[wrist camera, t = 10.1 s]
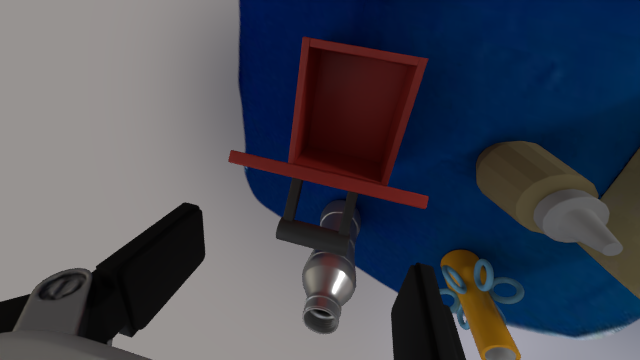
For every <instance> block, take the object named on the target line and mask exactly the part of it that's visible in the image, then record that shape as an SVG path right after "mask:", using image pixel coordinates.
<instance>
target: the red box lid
mask: <svg viewBox="0 0 640 360" xmlns="http://www.w3.org/2000/svg"><path fill="white" fill-rule="evenodd" d="M229 162H231V163H235V164H239V165H243V166H247V167H251V168H256V169H260V170H264V171H268V172H272V173H276V174H281V175H285V176H289V177H293V178H292V182H291V186H290V191H289V195H288V199H287V203H286V208H285V212H284V216H283V217H282V218H281V220H280V221H279V224H278V227H277V231H276V238H277V239H280V240H283V241H287V242H291V243H295V244H298V245H302V246H306V247H309V248H313V249H317V250H321V251H324V252H328V253H332V254H335V255H339V256H343V257H345V256H346V254H347V250H348V246H349V241H350V234H349V230H350V226H351V222H352V218H353V214H354V209H355V205H356V201H357V197H358V193H360V194H364V195H368V196H372V197H376V198H380V199H385V200H389V201H393V202H397V203H401V204H405V205H410V206H414V207H418V208H422V209H426V206H427V202H428V198H429V197H428V196H426V195H421V194H417V193H413V192H409V191H404V190H400V189H396V188H391V187H387V186H383V185H379V184H374V183H370V182H366V181H362V180H357V179H353V178H349V177H345V176H340V175H336V174H332V173H328V172H323V171H319V170H315V169H311V168H306V167H302V166H298V165H293V164H289V163H285V162H281V161H276V160H272V159H268V158H264V157H259V156H255V155H251V154H247V153H242V152H238V151H234V150H231V152H230V156H229ZM303 180H305V181H310V182H314V183H318V184H322V185H326V186H330V187H335V188H339V189H343V190H347V191H348V194H347V198H346V202H345V206H344V211H343V215H342V219H341V223H340V227H339V231H336V230H332V229H328V228H325V227H321V226H317V225H313V224H309V223H305V222H301V221H298V220H294V218H295V214H296V210H297V206H298V201H299V197H300V193H301V189H302V184H303Z"/></svg>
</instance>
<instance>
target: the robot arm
mask: <svg viewBox="0 0 640 360" xmlns="http://www.w3.org/2000/svg"><path fill="white" fill-rule="evenodd" d="M204 257H205V244H204V230H203V216H202V211H201V210H200V209H199V206H197V205H194V204H190V203H183V204H181V205H180V206H179V207H177V208H176V209H174V210H173V211H172V212H170V213H169V214H167V215H166V216H165V217H163V218H162V219H161V220H159V221H158V222H156V223H155V224H154V225H152V226H151V227H149V228H148V229H147V230H145V231H144V232H143V233H141V234H140V235H138V236H137V237H136V238H134V239H133V240H132V241H130V242H129V243H128V244H126V245H125V246H123V247H122V248H121V249H119V250H118V251H116V252H115V253H114V254H112V255H111V256H110V257H108V258H107V259H105V260H104V261H103V262H101V263H100V264H99V265H97V266H96V270H95V271H93V272H92V273H91V272H90V271H89V270H87V269H82V268H75V269H68V270H65V271H61V272H58V273H56V274H54V275H52V276H50V277H48V278H46V279H45V280H43V281H42V282H41V283H40V284H38V285H37V286H36V287H35V289H34V290H33V291H32V293H31V294H28V295H25V296H21V297H17V298H13V299H9V300H6V301H2V302H0V360H151V359H148V358H145V357H142V356H139V355H136V354H134V353H131V352H128V351H125V350H122V349H118V348H115V347H112V340H113V338H114V337H115V335H116V334H117V333H118V332H119V333H120V334H123V335H126V336H129V337H133V336H134V335H135V333H136V332H137V331H138V330H141V329H143V328H144V327H146V326H147V324H148V323H149V322H150V321H151V320H152V319H153V317H154V316H155V315H156V314H157V313H158V312H159V311H160V310H161V308H162V307H163V306H164V305H165V304H166V303H167V302H168V300H169V299H170V298H171V297H172V296H173V295H174V293H175V292H176V291H177V290H178V289H179V288H180V287H181V286H182V284H183V283H184V282H185V281H186V280H187V279H188V278H189V276H190V275H191V274H192V273H193V272H194V271H195V270H196V268H197V267H198V266H199V265H200V264H201V262H202V261H203V260H204ZM391 321H392V337H393V353H394V360H466V358H465V355H464V351H463V348H462V345H461V342H460V338H459V335H458V332H457V328H456V325H455V322H454V318H453V315H452V312H451V310H450V308H449V307H448V306H447V305H443V301H442V298H441V294H440V291H439V287H438V284H437V280H436V276H435V273H434V269H433V267H432V266H429V265H425V264H421V263H416V265H415V266H414V265H411V266H410V268H409V271H408V273H407V275H406V277H405V280H404V282H403V284H402V287H401V289H400V291H399V293H398V296H397V298H396V300H395V303H394V305H393V307H392V312H391Z"/></svg>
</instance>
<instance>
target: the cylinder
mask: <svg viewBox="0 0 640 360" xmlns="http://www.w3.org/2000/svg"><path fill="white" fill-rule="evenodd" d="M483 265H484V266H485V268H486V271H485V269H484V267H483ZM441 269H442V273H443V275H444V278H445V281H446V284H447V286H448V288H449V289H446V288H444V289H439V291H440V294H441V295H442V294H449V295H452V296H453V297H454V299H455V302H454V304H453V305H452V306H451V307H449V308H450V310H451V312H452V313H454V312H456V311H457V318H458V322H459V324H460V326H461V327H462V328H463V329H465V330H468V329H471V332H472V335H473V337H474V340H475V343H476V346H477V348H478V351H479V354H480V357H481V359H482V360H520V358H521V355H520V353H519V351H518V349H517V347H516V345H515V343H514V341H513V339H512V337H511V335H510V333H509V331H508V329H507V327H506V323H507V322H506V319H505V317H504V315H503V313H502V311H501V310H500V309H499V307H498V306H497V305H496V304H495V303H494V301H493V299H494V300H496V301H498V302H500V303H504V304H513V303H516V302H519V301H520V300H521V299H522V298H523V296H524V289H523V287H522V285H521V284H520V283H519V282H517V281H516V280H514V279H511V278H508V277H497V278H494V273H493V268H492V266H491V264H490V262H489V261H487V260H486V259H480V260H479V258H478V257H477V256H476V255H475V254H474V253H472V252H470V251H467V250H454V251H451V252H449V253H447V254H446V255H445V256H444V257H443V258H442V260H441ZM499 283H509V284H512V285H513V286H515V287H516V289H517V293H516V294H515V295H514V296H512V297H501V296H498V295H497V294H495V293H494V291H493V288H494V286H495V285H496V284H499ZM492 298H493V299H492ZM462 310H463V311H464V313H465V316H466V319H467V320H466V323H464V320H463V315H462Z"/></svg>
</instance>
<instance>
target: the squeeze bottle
mask: <svg viewBox="0 0 640 360" xmlns="http://www.w3.org/2000/svg"><path fill="white" fill-rule="evenodd" d="M476 180H477V185H478V186H479V188H480V190H481V192H482V193H483V194H484V195H486V196H487V197H488V198H489V199H491V200H492V201H493V202H494V203H495V204H497V205H498V206H499V207H500V208H502V209H503V210H504V211H505V212H506V213H508V214H509V215H510V216H511V217H513V218H514V219H515V220H516V221H517V222H519V223H520V224H521V225H523V226H524V227H526V228H527V229H529V230H530V231H534V232H539V233H543V234H546V235H547V236H549V237H550V238H552V239H553V240H555V241H560V242H565V243H567V242H579V241H580V242H581V243H583V244H585V245H587V246H589V247H591V248H593V249H595V250H597V251H599V252H601V253H602V254H604V255H607V256H614V255H617V254H619V253H621V252H622V250H623V246H622V245H621V244H620V242H619V241H618V240H617V239H616V238H615V236H614V235H613V234H612V233H611V232H610V231H609V229H608V228H607V227H606V226H605V225H606V224H607V223H608V219H609V214H610V213H609V210H608V208H607V206H606V204H604V203H603V202H601V201H600V200H598V196H599V195H598V193H597V190H596V188H595V186H594V184H593V183H591V182H590V181H588V180H587V179H586V178H584V177H583V176H582V175H580V174H579V173H577V172H576V171H575V170H573V169H572V168H570V167H569V166H568V165H566V164H565V163H563V162H562V161H561V160H559V159H558V158H556V157H555V156H554V155H552V154H551V153H549V152H548V151H547V150H545V149H544V148H542V147H541V146H539V145H538V144H536V143H531V142H525V141H512V142H502V143H496V144H493V145H492V146H490V147H488V148H486V149H485V150H484V151H483V152H482V153H481V154H480V155H479V157H478V159H477V162H476Z"/></svg>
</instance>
